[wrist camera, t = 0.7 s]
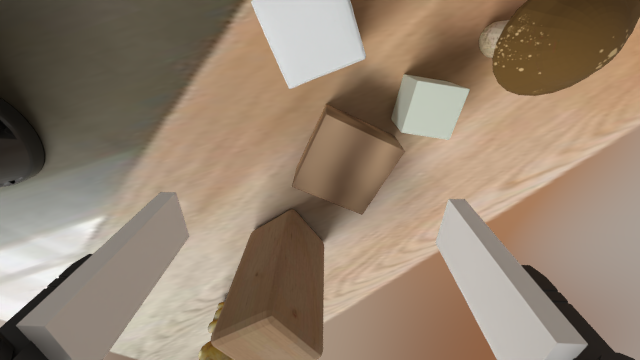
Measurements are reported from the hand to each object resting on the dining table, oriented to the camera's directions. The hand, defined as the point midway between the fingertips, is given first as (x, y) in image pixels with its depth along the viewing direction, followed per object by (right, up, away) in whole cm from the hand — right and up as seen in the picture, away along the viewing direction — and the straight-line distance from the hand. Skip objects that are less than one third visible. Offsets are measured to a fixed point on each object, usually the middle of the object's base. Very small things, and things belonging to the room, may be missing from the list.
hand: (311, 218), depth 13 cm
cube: (+14, +13, +22) cm, 29 cm away
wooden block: (-5, -8, +35) cm, 36 cm away
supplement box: (0, +20, +19) cm, 28 cm away
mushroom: (+22, +19, +19) cm, 34 cm away
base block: (+4, +6, +26) cm, 27 cm away
